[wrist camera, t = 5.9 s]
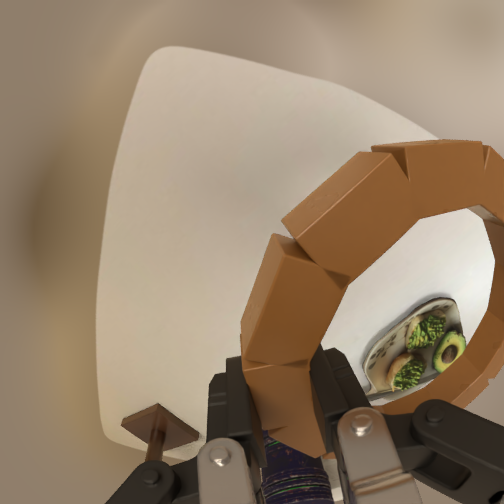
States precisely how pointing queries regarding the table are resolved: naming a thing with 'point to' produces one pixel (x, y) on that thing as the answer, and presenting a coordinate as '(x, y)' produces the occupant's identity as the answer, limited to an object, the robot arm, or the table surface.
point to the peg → (159, 430)
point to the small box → (333, 477)
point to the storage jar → (293, 476)
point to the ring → (354, 264)
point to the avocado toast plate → (415, 350)
